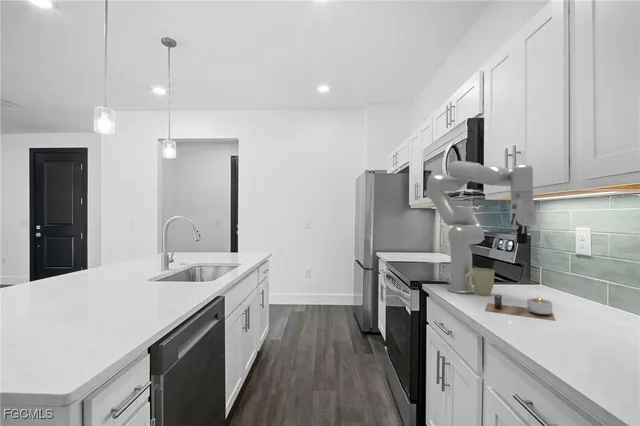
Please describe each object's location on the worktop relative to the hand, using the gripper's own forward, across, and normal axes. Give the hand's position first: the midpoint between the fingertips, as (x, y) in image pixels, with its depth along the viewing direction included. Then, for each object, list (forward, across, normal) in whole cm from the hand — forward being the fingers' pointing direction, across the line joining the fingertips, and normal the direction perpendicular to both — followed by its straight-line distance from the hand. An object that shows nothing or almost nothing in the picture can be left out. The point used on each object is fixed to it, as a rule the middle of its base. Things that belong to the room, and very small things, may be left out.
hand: (522, 243), depth 128 cm
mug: (+25, +1, +18) cm, 31 cm away
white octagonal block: (+23, -7, -10) cm, 26 cm away
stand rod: (+24, -14, +1) cm, 28 cm away
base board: (+25, -10, -4) cm, 28 cm away
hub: (+24, -7, -10) cm, 27 cm away
